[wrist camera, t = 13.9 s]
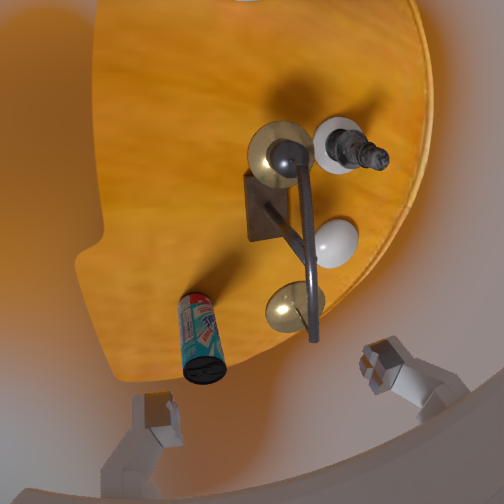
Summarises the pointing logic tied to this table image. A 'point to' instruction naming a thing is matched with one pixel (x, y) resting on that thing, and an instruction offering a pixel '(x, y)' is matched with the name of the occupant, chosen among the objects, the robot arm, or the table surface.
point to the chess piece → (355, 150)
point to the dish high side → (335, 243)
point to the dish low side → (320, 141)
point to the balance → (285, 219)
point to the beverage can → (200, 340)
